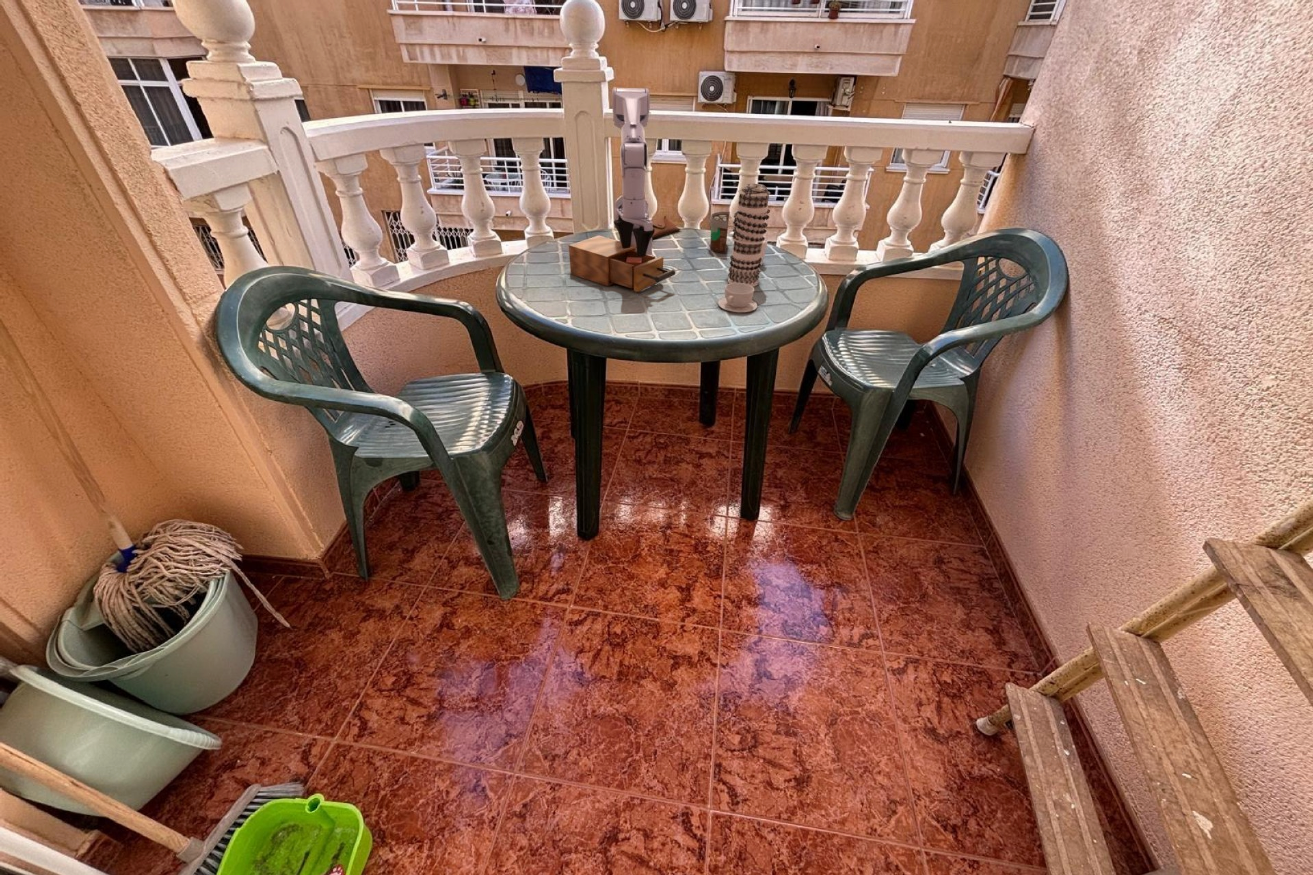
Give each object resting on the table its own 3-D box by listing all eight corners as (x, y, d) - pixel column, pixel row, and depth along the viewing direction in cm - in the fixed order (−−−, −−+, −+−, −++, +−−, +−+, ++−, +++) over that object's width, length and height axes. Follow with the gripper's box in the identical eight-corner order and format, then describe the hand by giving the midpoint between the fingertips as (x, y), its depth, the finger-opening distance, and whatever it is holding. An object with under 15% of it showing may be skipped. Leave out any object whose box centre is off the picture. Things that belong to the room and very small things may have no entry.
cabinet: (636, 274, 152) (636, 246, 147) (607, 286, 144) (607, 256, 139) (599, 262, 159) (598, 235, 154) (570, 273, 151) (568, 245, 146)
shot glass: (737, 261, 163) (740, 237, 159) (756, 258, 165) (759, 235, 161) (749, 268, 158) (752, 244, 154) (768, 266, 160) (772, 242, 156)
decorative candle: (765, 286, 147) (780, 189, 132) (734, 289, 145) (746, 190, 130) (751, 274, 154) (764, 181, 139) (721, 277, 152) (731, 182, 137)
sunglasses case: (649, 240, 175) (641, 220, 173) (635, 247, 180) (627, 227, 179) (682, 229, 186) (675, 210, 185) (668, 236, 192) (662, 217, 190)
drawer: (679, 285, 144) (680, 262, 140) (654, 297, 137) (654, 273, 133) (626, 269, 153) (625, 246, 149) (600, 279, 146) (599, 256, 142)
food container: (707, 241, 178) (710, 210, 172) (726, 242, 177) (729, 211, 171) (705, 253, 168) (708, 220, 162) (725, 254, 167) (728, 221, 161)
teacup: (729, 295, 141) (731, 278, 139) (763, 304, 137) (766, 287, 134) (710, 307, 135) (712, 289, 132) (745, 317, 130) (748, 299, 128)
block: (627, 274, 147) (626, 257, 144) (641, 275, 147) (641, 257, 144) (626, 279, 143) (625, 262, 140) (640, 280, 143) (640, 262, 140)
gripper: (663, 202, 130) (661, 257, 138) (632, 189, 139) (632, 242, 147) (639, 205, 126) (638, 262, 135) (608, 192, 136) (610, 246, 144)
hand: (633, 252), depth 141 cm, fingers open, 7 cm apart
